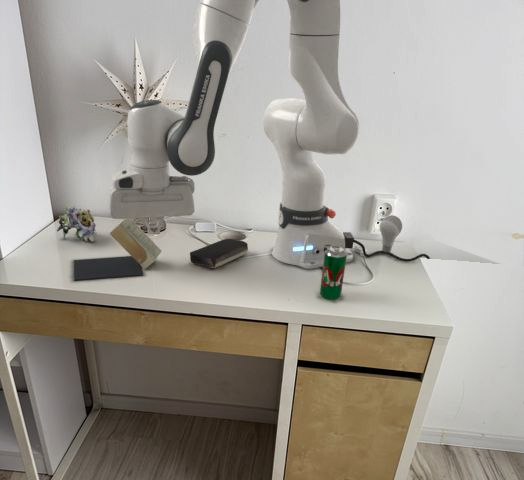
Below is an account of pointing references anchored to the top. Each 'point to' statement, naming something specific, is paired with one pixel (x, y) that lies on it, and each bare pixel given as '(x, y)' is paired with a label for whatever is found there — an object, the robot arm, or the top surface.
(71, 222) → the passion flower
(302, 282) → the top surface
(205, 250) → the black sponge
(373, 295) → the top surface
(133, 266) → the mat
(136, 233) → the cosmetic box
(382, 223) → the lightbulb
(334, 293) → the soda can
